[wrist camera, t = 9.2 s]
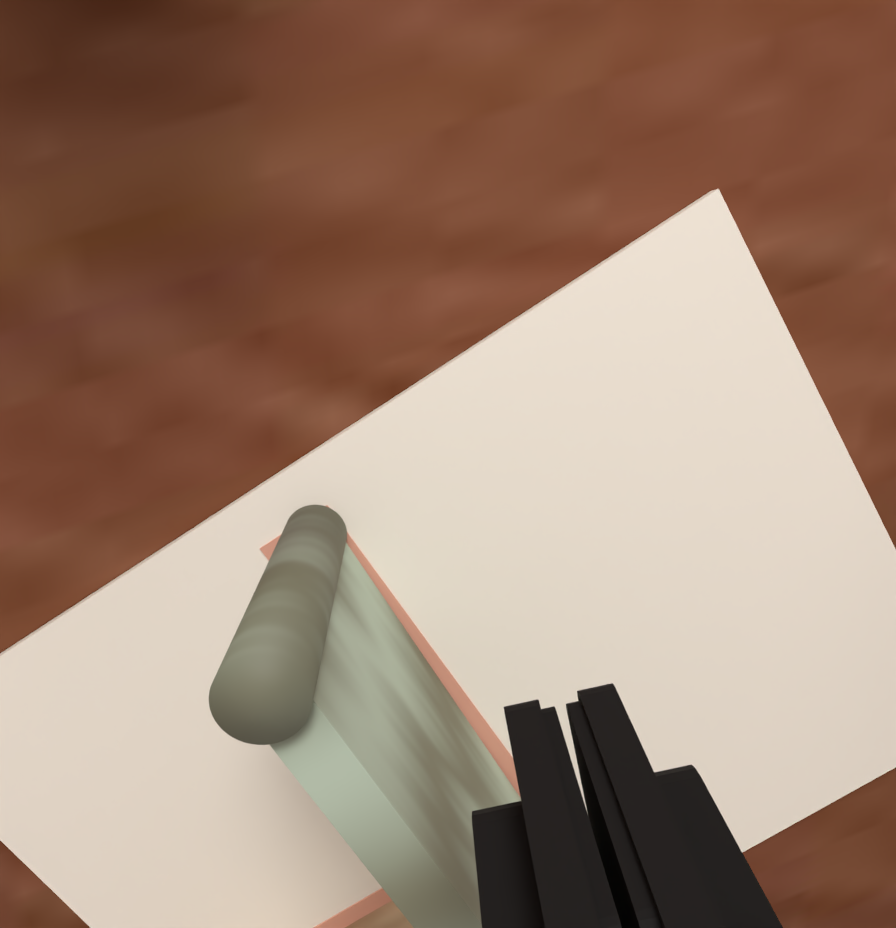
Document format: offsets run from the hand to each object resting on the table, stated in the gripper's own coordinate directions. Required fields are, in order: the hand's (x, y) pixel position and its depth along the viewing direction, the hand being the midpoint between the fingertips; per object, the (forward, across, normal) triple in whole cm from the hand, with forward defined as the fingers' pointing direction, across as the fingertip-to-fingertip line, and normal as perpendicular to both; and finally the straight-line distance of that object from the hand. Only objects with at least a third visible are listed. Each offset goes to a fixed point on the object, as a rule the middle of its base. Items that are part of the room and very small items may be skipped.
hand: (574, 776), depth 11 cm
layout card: (+11, +2, +7) cm, 13 cm away
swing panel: (+11, +4, +4) cm, 12 cm away
